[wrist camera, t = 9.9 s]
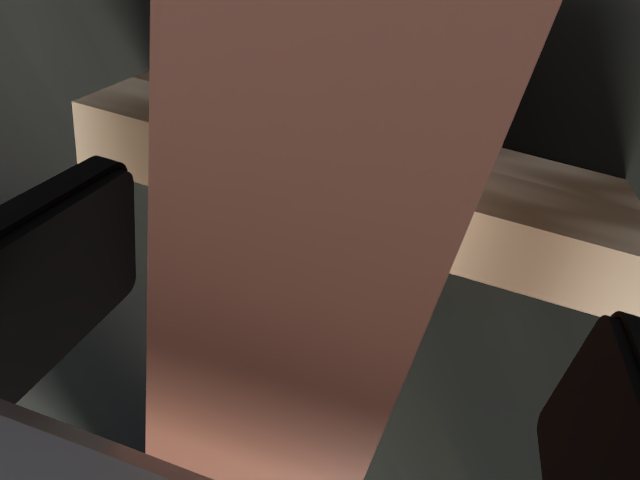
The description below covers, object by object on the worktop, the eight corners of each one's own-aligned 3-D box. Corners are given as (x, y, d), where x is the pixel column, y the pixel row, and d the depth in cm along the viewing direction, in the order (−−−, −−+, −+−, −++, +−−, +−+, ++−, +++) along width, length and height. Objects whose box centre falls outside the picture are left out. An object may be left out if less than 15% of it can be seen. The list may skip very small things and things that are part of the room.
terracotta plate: (496, -49, 13) (570, -17, 3) (380, 299, 20) (285, 665, 10) (386, -74, 14) (150, -116, 4) (307, 275, 20) (143, 607, 10)
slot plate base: (625, 179, 15) (684, 268, 11) (598, 229, 16) (641, 329, 12) (169, 62, 17) (71, 101, 13) (168, 113, 18) (77, 165, 14)
